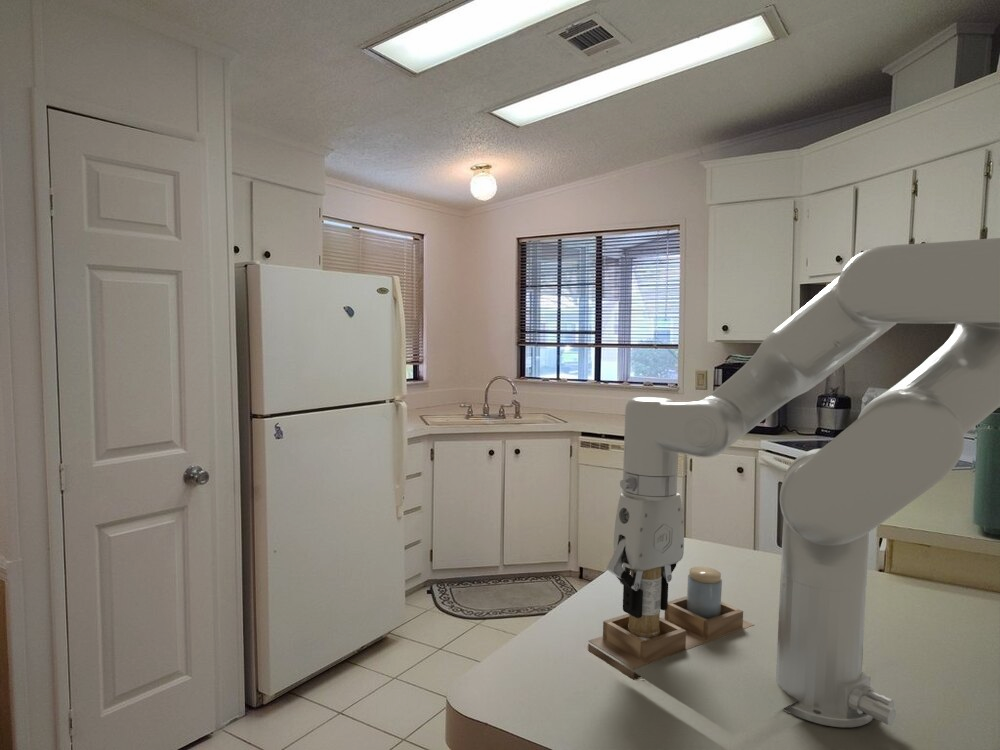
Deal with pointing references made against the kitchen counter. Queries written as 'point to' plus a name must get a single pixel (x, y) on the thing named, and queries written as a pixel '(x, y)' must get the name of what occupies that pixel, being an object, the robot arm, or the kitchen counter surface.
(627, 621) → the spice rail
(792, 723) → the kitchen counter surface
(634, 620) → the sprinkles bottle
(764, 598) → the kitchen counter surface
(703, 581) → the spice pot
